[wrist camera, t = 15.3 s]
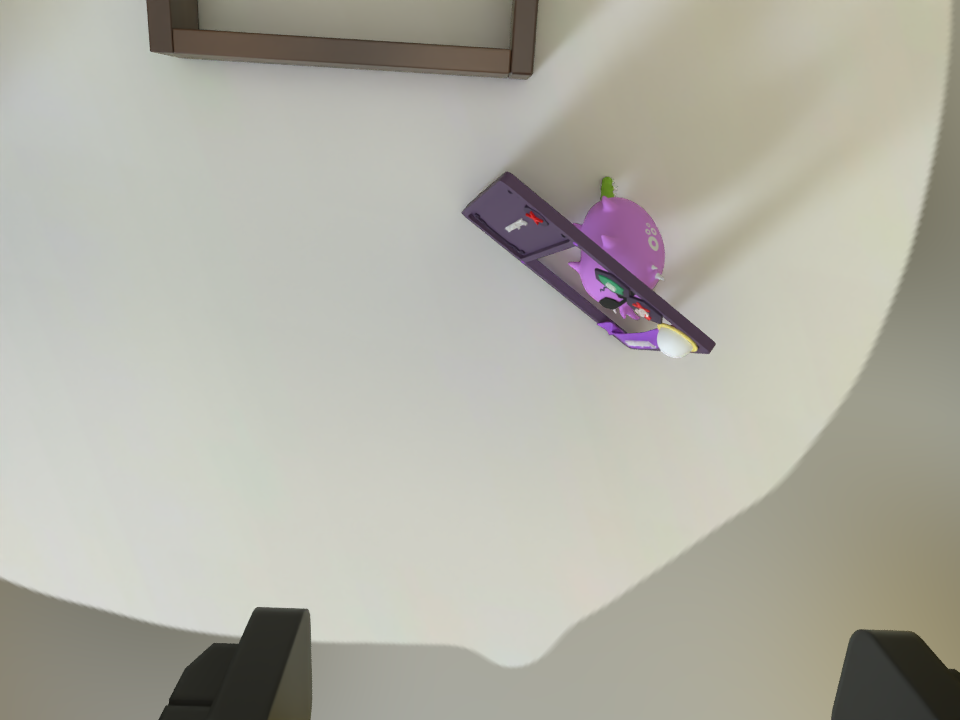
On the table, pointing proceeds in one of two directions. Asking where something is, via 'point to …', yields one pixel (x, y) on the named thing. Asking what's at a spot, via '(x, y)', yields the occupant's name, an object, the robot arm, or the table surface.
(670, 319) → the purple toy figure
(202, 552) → the table surface
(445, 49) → the brown square frame
